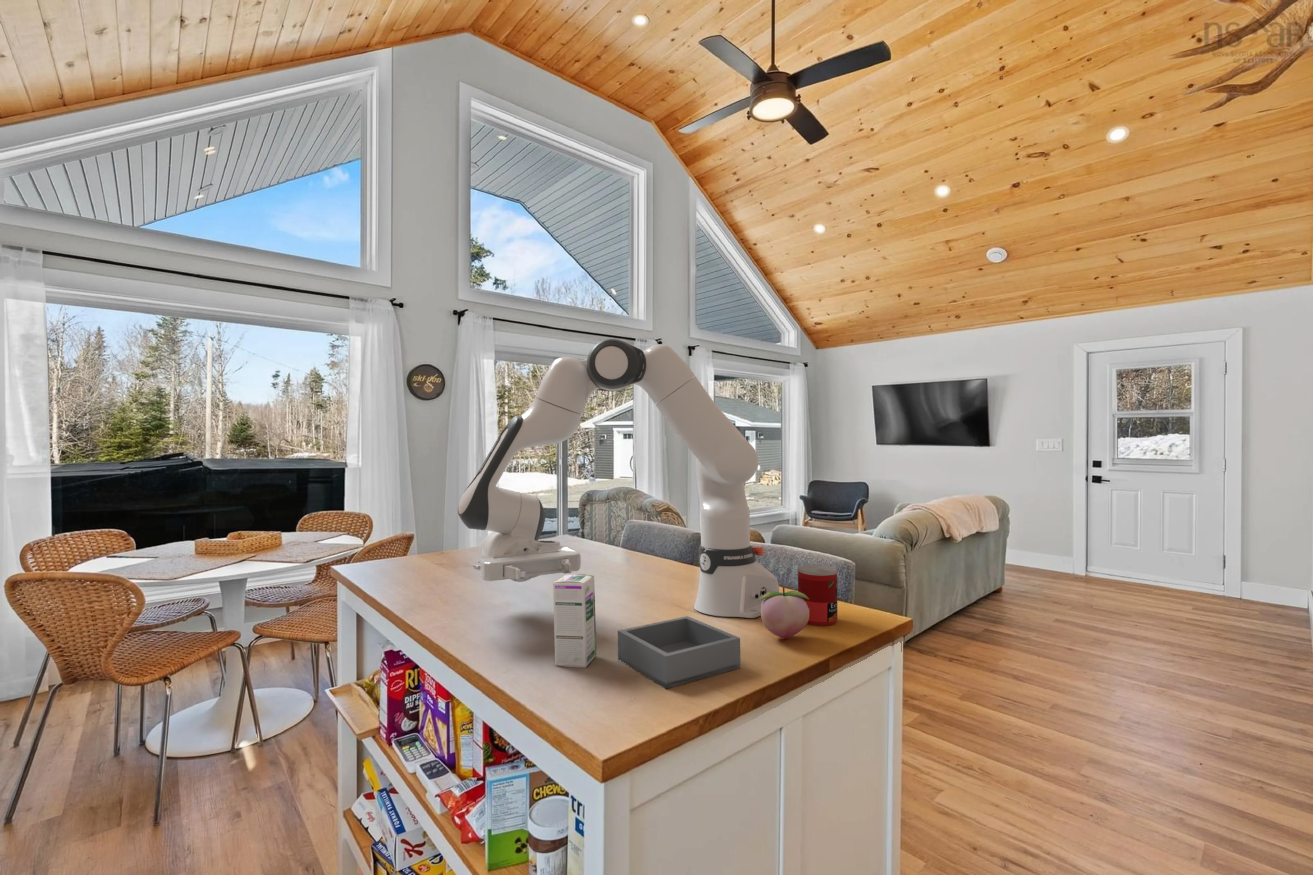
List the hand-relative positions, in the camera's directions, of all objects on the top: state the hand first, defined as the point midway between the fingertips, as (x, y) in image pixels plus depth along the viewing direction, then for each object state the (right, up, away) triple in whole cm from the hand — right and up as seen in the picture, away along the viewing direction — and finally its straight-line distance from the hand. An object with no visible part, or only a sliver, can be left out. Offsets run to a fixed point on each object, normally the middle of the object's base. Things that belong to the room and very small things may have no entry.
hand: (545, 571), depth 114 cm
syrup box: (+7, -13, -10) cm, 18 cm away
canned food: (+55, -13, +11) cm, 58 cm away
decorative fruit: (+46, -13, +1) cm, 47 cm away
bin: (+25, -13, -12) cm, 30 cm away
